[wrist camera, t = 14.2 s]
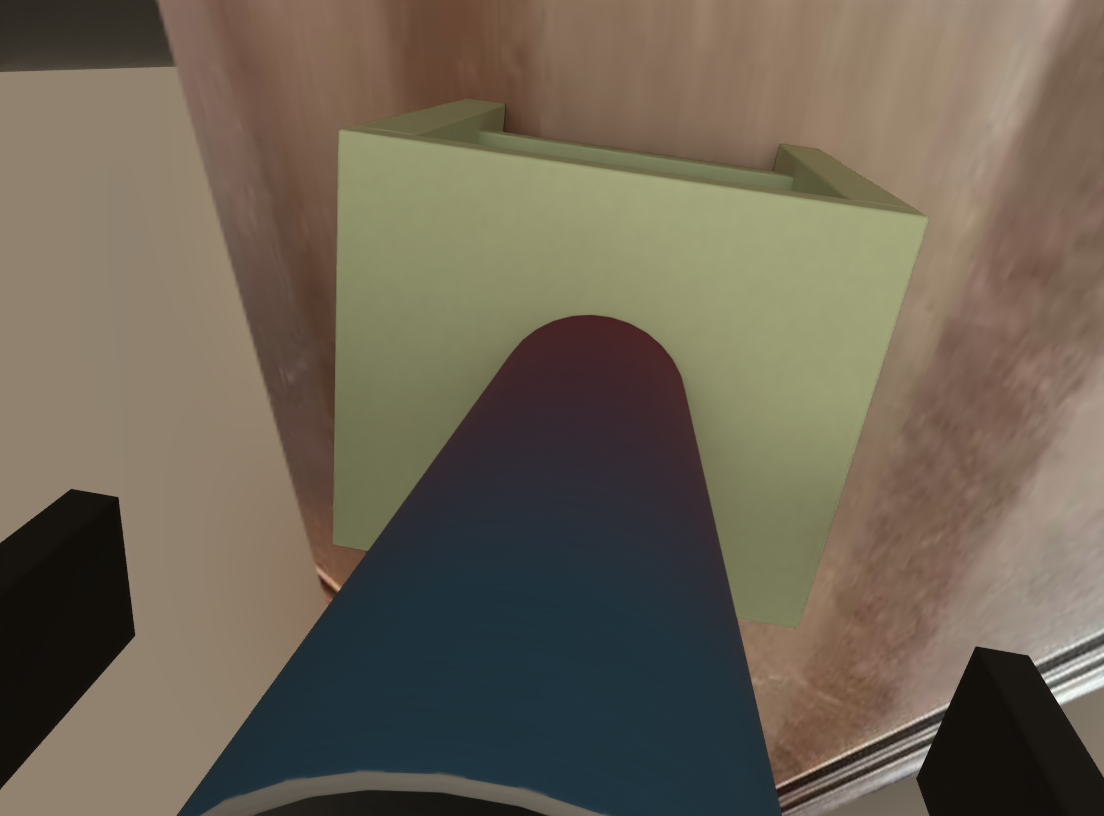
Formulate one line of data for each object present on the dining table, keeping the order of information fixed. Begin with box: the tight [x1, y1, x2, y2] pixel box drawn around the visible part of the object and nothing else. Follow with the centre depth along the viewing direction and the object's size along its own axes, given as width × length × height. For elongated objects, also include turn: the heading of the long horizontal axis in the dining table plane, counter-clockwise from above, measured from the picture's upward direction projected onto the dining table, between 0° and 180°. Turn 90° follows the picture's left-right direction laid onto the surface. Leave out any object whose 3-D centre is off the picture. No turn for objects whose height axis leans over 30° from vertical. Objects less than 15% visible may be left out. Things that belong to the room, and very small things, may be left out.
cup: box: [177, 315, 782, 816], centre depth 14 cm, size 7×7×15 cm
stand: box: [333, 99, 929, 628], centre depth 28 cm, size 14×12×14 cm
